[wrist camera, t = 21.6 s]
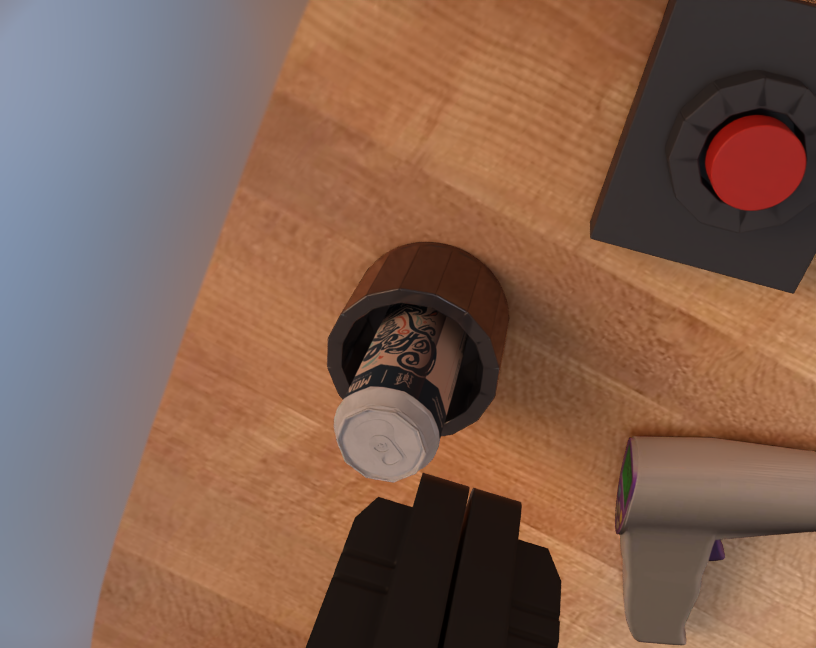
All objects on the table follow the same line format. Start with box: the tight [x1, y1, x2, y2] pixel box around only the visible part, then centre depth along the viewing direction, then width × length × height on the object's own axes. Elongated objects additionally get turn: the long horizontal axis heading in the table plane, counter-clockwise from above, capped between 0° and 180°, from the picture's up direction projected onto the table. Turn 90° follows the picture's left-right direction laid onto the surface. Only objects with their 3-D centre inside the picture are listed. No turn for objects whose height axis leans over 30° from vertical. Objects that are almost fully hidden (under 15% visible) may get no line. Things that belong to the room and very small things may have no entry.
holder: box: [327, 242, 509, 436], centre depth 40 cm, size 9×9×6 cm
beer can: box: [334, 303, 468, 482], centre depth 37 cm, size 5×5×12 cm
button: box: [705, 115, 806, 211], centre depth 31 cm, size 4×4×2 cm
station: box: [590, 0, 816, 293], centre depth 33 cm, size 12×10×4 cm
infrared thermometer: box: [615, 436, 816, 645], centre depth 44 cm, size 5×12×15 cm
